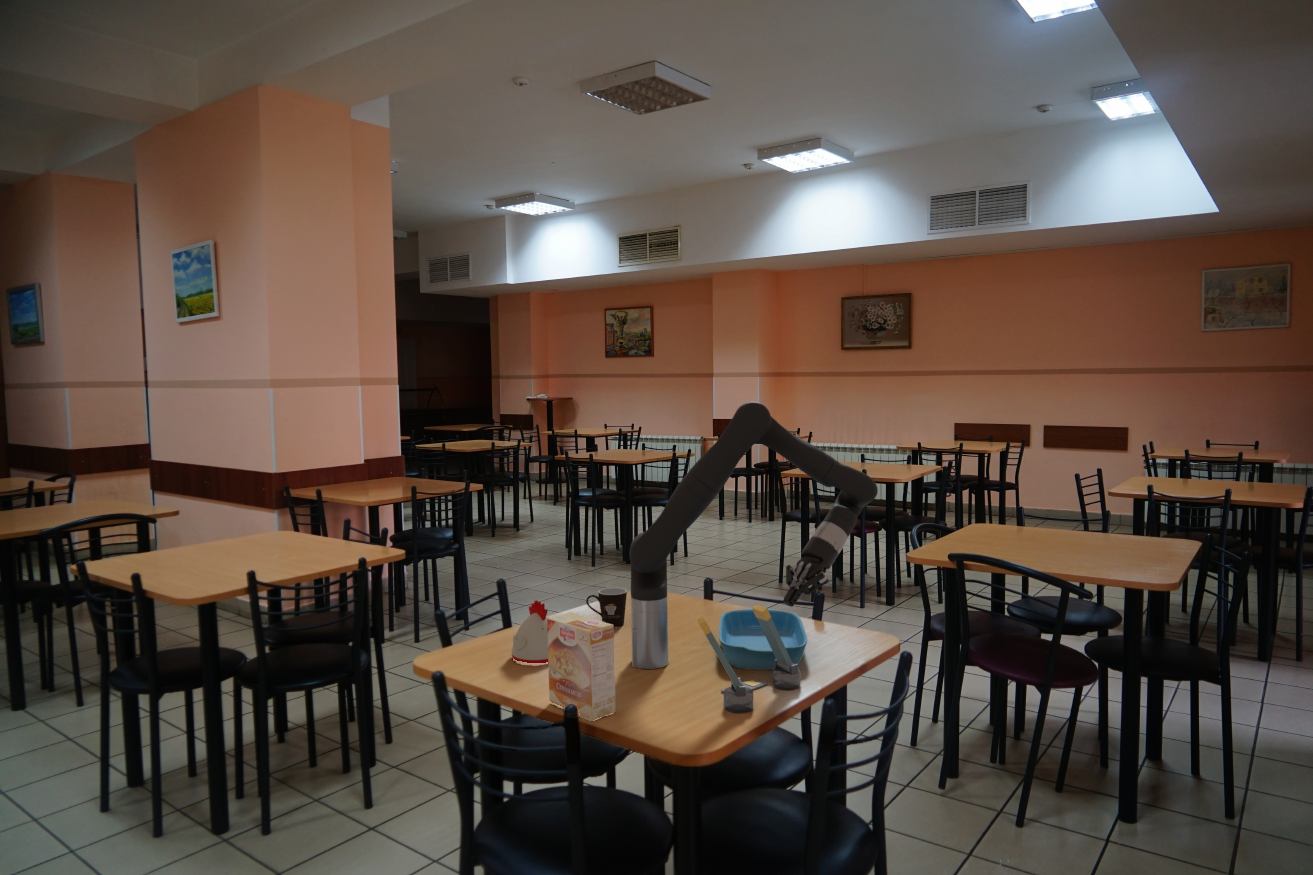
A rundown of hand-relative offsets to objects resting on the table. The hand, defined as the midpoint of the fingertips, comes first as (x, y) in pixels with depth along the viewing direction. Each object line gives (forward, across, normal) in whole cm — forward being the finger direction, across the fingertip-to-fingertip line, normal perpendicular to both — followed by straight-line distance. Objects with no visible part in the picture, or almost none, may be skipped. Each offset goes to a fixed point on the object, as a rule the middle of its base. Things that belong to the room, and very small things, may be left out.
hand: (787, 604), depth 184 cm
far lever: (+10, 0, +10) cm, 14 cm away
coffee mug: (+20, -70, +6) cm, 73 cm away
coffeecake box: (+46, -15, -19) cm, 52 cm away
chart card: (+20, -4, +7) cm, 22 cm away
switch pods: (+20, +2, +7) cm, 21 cm away
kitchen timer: (+41, -53, -15) cm, 69 cm away
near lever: (+22, +4, -2) cm, 23 cm away
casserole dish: (+6, -23, +21) cm, 32 cm away
